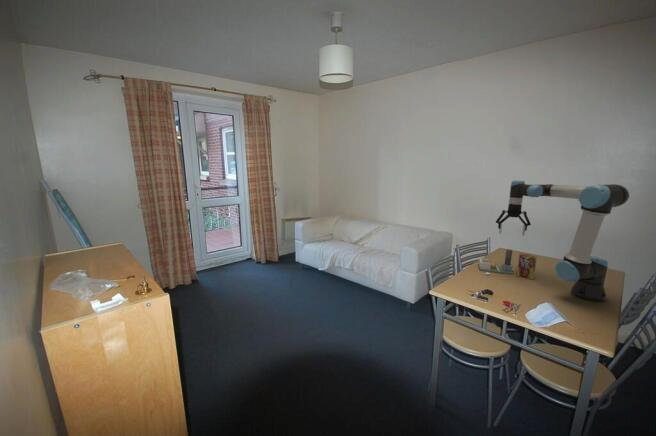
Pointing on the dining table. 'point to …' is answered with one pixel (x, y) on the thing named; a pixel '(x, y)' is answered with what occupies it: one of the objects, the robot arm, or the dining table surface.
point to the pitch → (487, 267)
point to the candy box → (526, 265)
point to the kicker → (507, 261)
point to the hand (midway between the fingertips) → (511, 234)
